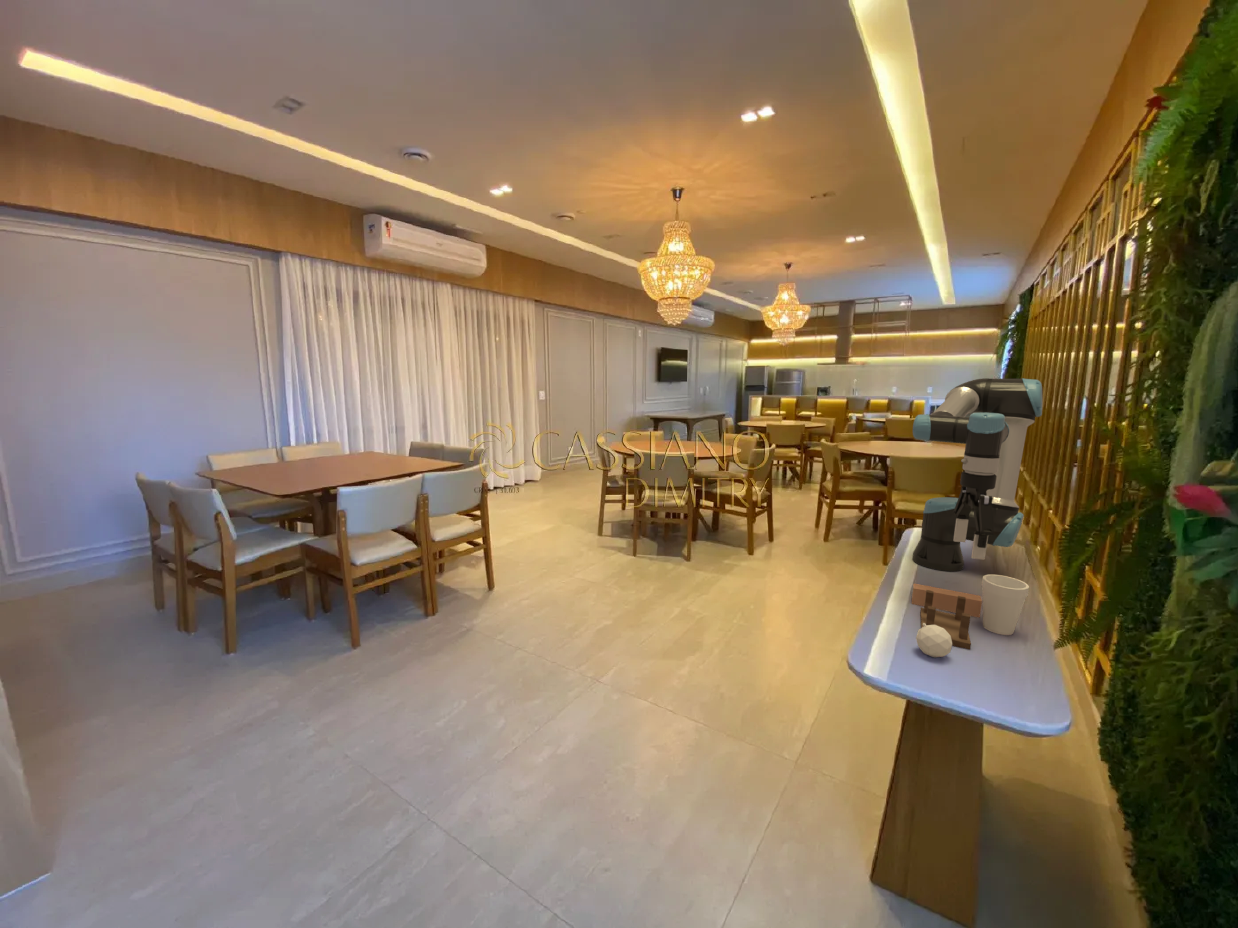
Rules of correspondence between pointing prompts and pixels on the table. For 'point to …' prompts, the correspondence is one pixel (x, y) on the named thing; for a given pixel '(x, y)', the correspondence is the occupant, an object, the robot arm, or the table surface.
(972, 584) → the table surface
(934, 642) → the cream rounded egg shape
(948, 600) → the clay bar
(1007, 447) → the robot arm
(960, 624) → the rack
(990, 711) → the table surface
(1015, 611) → the foam cup
